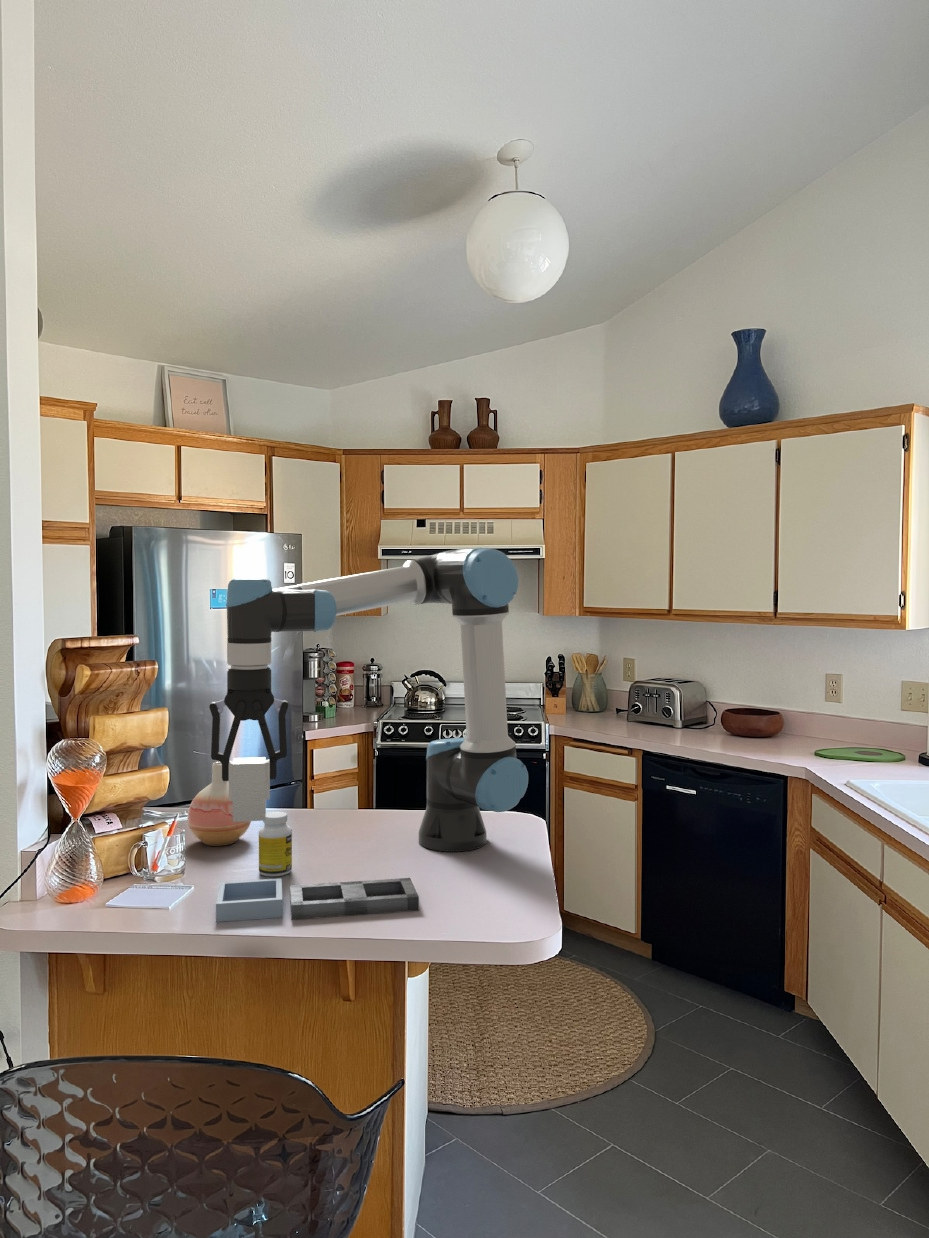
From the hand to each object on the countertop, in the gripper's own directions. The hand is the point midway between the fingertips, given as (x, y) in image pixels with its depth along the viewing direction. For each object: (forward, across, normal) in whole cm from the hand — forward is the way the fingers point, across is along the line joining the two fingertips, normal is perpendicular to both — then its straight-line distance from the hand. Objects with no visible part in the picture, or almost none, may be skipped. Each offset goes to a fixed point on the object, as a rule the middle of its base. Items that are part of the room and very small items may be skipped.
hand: (249, 797), depth 156 cm
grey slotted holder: (+20, -18, +2) cm, 27 cm away
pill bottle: (+20, -4, -19) cm, 28 cm away
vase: (+20, +7, -42) cm, 47 cm away
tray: (+20, 0, 0) cm, 20 cm away
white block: (+3, 0, 0) cm, 3 cm away
